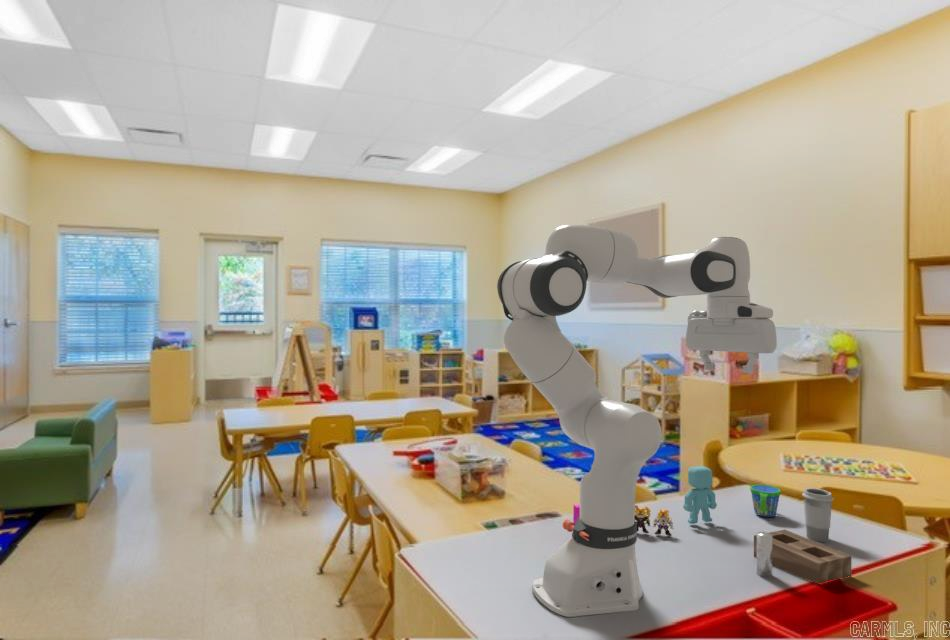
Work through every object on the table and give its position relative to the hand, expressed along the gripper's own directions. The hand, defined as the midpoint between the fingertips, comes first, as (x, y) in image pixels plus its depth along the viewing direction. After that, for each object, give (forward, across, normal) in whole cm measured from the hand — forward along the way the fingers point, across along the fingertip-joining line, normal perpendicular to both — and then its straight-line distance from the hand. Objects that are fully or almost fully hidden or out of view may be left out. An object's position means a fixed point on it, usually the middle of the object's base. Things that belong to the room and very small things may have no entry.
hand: (728, 371), depth 125 cm
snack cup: (+44, -14, +40) cm, 61 cm away
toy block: (+44, -25, -16) cm, 53 cm away
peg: (+44, +7, +2) cm, 44 cm away
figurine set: (+44, -25, 0) cm, 51 cm away
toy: (+44, -20, +19) cm, 52 cm away
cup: (+44, +3, +34) cm, 55 cm away
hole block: (+44, +9, +13) cm, 47 cm away
